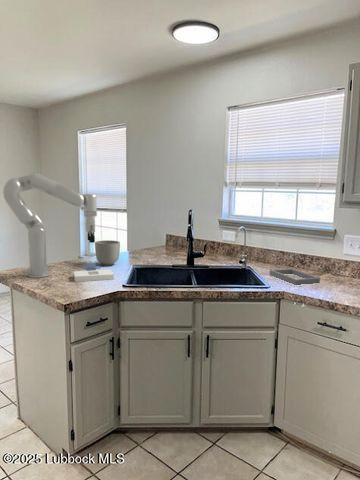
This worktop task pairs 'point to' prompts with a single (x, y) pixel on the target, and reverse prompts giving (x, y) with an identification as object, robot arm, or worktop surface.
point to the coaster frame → (308, 278)
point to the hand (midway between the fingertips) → (91, 241)
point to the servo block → (90, 266)
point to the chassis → (93, 275)
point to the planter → (107, 252)
